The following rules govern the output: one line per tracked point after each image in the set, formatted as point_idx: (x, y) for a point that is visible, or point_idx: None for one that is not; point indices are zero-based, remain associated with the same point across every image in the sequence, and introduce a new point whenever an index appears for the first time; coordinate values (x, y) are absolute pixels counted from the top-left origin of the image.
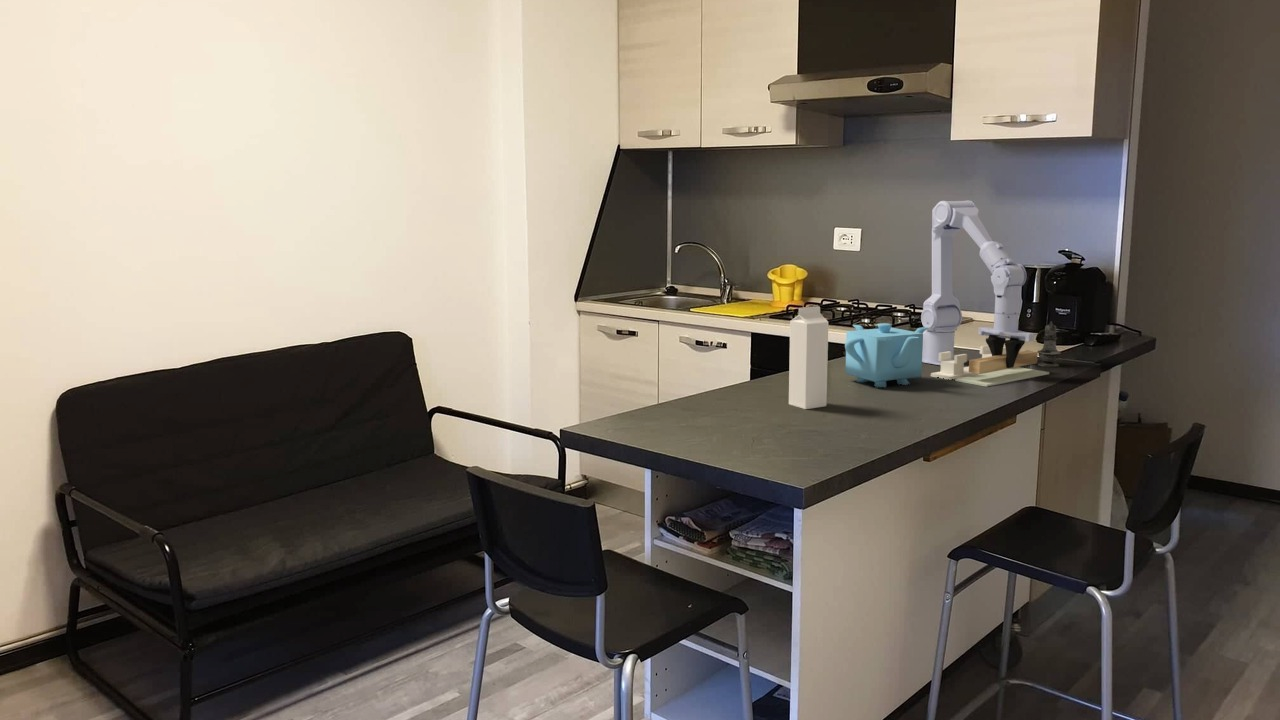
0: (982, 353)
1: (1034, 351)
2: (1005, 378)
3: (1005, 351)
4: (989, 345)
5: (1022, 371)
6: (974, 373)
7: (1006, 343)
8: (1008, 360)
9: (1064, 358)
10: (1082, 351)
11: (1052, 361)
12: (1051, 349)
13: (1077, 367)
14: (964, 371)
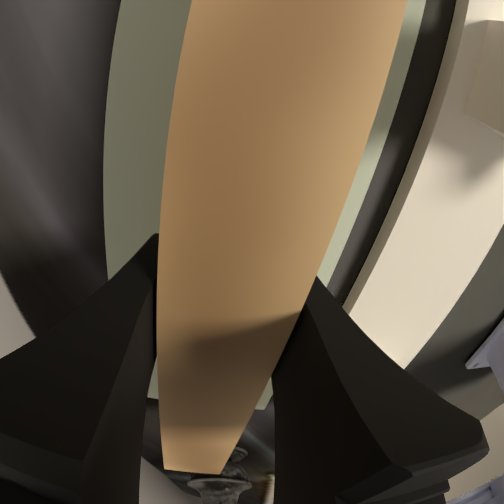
0: None
1: (176, 468)
2: (157, 141)
3: None
4: (412, 391)
5: None
6: (409, 179)
7: (42, 427)
8: (131, 265)
9: None
10: (238, 499)
11: None
12: (206, 492)
13: (151, 453)
14: (466, 174)
